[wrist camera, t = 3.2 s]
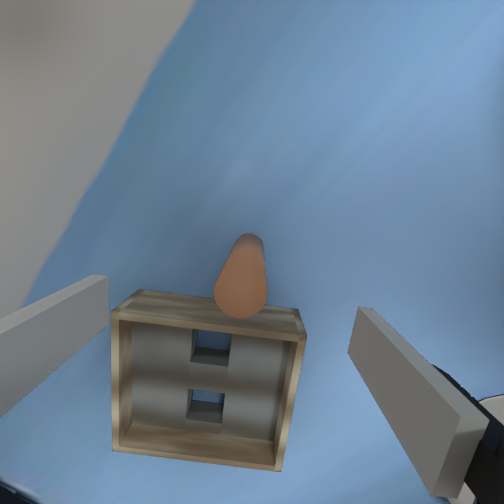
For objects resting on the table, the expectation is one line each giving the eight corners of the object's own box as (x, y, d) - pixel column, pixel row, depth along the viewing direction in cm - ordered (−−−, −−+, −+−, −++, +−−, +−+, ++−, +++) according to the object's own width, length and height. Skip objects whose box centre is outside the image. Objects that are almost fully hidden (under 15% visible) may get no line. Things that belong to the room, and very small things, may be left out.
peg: (236, 232, 29) (216, 264, 15) (265, 235, 29) (270, 271, 15) (233, 259, 30) (211, 314, 16) (261, 263, 30) (263, 321, 16)
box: (139, 289, 31) (110, 311, 25) (298, 309, 31) (307, 335, 25) (136, 408, 35) (112, 451, 29) (277, 425, 35) (280, 472, 29)
